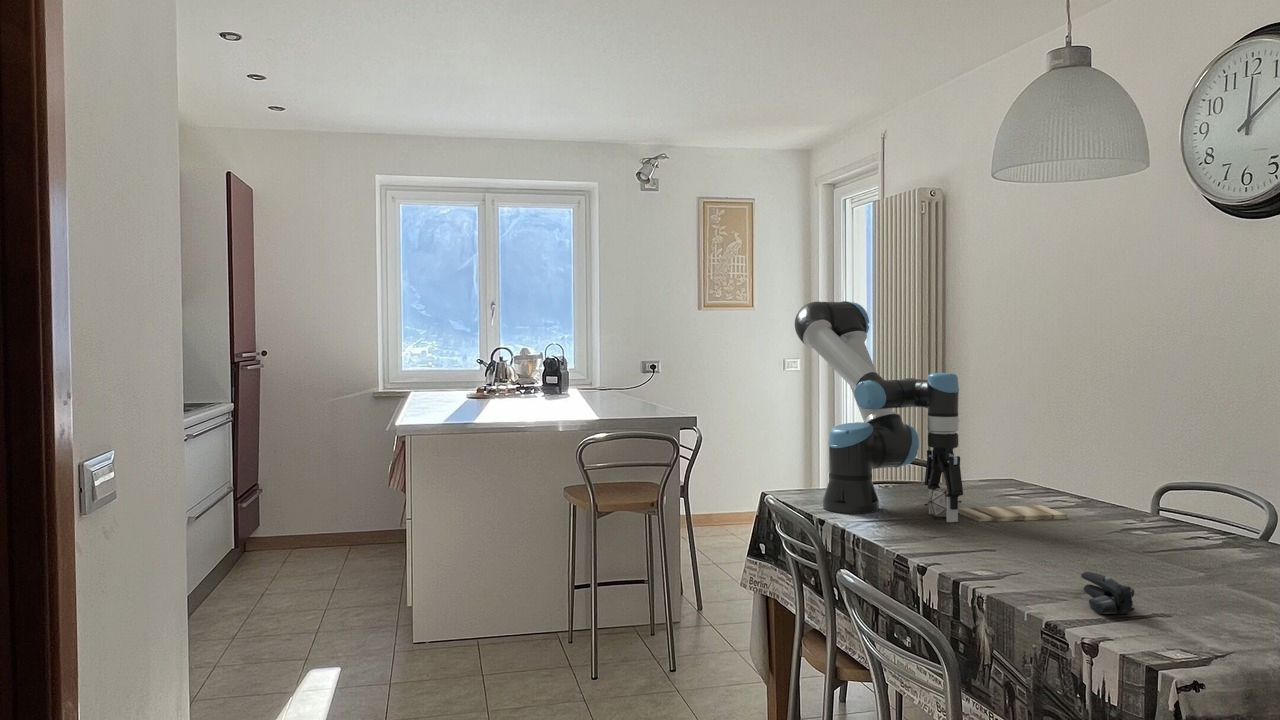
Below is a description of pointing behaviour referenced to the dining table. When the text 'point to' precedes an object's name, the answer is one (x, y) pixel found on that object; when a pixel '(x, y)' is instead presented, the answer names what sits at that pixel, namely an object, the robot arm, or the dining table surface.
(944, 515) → the game die
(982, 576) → the dining table surface
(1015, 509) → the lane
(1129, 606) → the can opener
